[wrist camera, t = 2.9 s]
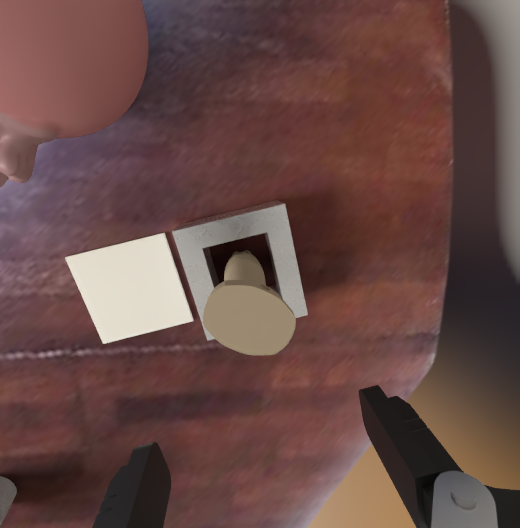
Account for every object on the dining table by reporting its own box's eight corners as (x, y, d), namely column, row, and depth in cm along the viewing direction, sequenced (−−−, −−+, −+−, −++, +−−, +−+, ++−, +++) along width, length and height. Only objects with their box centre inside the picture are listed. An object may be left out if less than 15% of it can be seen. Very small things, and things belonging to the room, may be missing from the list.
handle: (226, 231, 34) (222, 271, 19) (276, 255, 35) (307, 310, 20) (208, 268, 35) (191, 332, 20) (257, 290, 36) (274, 366, 22)
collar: (180, 223, 33) (172, 231, 28) (277, 200, 33) (285, 203, 28) (210, 319, 36) (207, 340, 32) (297, 296, 37) (307, 314, 32)
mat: (66, 256, 33) (64, 257, 32) (164, 232, 33) (163, 233, 33) (104, 342, 36) (103, 343, 36) (193, 319, 36) (193, 321, 36)
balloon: (-29, 155, 29) (-293, 131, 15) (9, -81, 25) (-316, -461, 10) (128, 213, 32) (40, 243, 17) (188, 11, 28) (139, -179, 13)
